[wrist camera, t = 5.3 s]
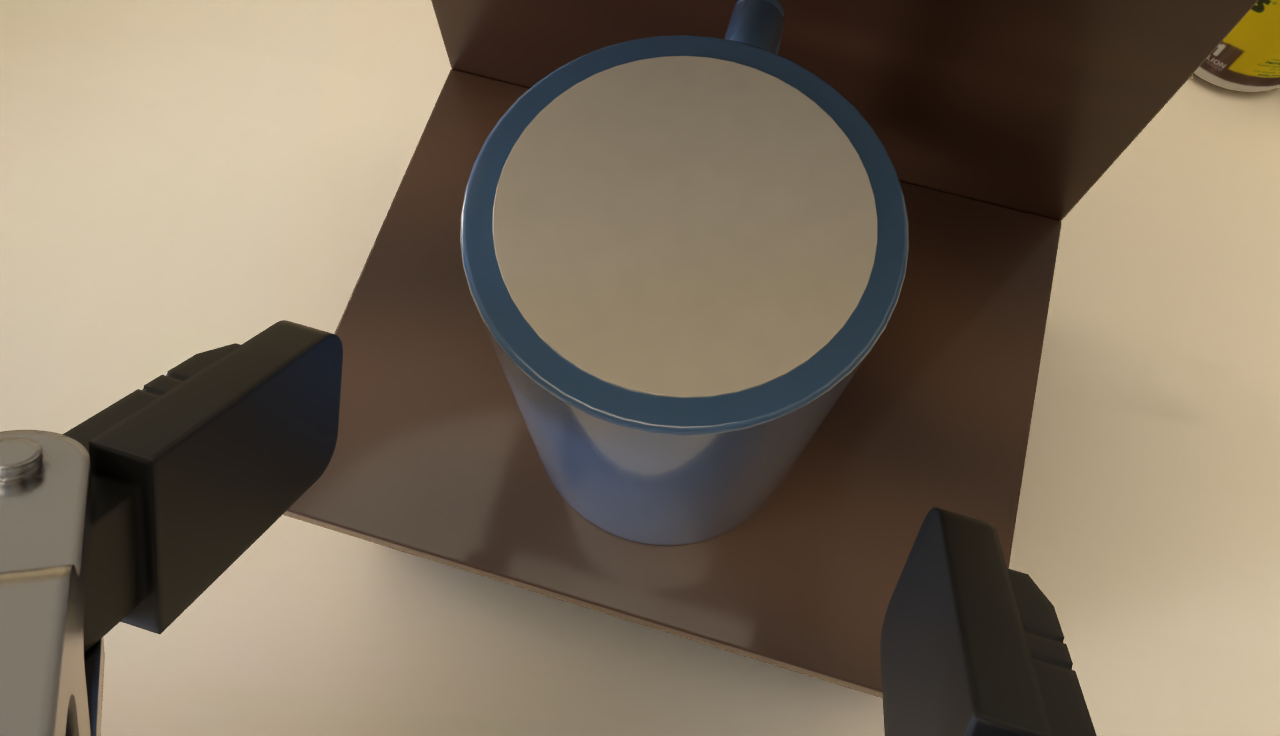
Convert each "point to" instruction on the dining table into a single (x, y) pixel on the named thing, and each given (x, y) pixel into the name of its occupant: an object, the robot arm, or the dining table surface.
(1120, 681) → the dining table surface
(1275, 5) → the supplement bottle
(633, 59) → the mug
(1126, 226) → the dining table surface
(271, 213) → the dining table surface
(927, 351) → the shelf
